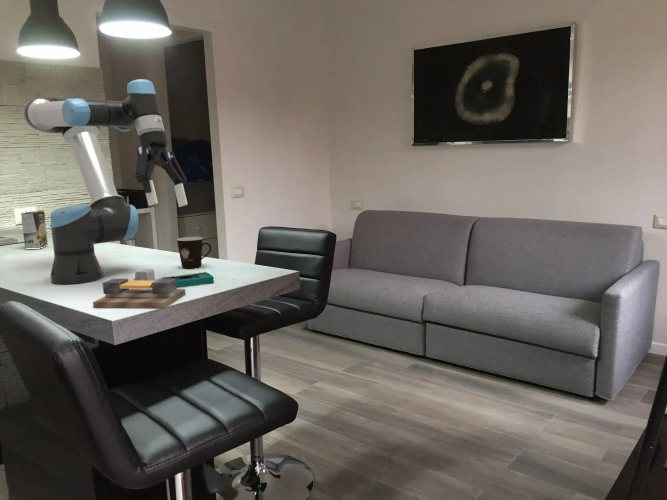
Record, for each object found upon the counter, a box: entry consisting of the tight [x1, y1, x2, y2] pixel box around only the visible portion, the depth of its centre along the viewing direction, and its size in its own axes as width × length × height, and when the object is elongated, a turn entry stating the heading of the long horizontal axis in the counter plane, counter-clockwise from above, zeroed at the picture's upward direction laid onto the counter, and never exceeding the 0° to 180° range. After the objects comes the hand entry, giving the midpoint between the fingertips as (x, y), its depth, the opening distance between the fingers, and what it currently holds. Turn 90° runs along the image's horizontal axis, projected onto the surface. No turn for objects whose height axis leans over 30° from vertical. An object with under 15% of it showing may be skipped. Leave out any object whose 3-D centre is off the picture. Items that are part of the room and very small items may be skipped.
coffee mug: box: [176, 236, 212, 270], centre depth 190 cm, size 12×9×10 cm
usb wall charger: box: [133, 268, 156, 280], centre depth 167 cm, size 4×7×4 cm, turn 171°
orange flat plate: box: [119, 279, 156, 289], centre depth 146 cm, size 8×6×1 cm
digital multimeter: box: [161, 271, 215, 289], centre depth 166 cm, size 7×15×3 cm, turn 119°
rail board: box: [92, 278, 186, 309], centre depth 147 cm, size 19×14×6 cm
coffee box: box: [20, 210, 49, 249], centre depth 243 cm, size 9×6×16 cm
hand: (168, 205), depth 158 cm, fingers open, 13 cm apart
